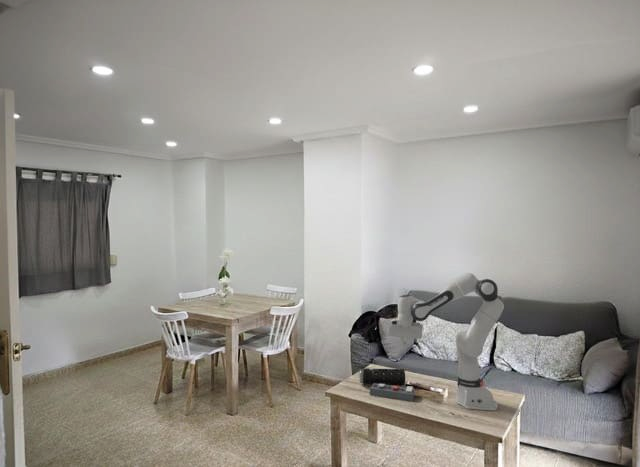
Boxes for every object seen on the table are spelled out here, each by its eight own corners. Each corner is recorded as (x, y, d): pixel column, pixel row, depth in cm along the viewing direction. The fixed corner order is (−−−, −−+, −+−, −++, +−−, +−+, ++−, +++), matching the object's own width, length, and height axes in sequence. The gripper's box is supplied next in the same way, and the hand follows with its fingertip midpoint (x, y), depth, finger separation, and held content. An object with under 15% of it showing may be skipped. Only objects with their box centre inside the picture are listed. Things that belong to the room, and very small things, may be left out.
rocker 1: (385, 385, 249) (385, 384, 250) (383, 387, 245) (383, 385, 245) (379, 384, 251) (379, 383, 251) (377, 386, 246) (377, 384, 246)
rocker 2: (412, 388, 243) (412, 386, 243) (411, 392, 239) (411, 391, 239) (407, 387, 245) (407, 385, 244) (405, 391, 240) (405, 390, 240)
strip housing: (414, 395, 245) (414, 388, 245) (412, 401, 237) (412, 394, 237) (373, 389, 254) (373, 382, 254) (369, 394, 246) (369, 388, 246)
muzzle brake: (405, 388, 257) (405, 371, 257) (360, 387, 258) (360, 371, 257) (402, 382, 266) (402, 366, 266) (359, 382, 267) (359, 366, 267)
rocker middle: (398, 387, 246) (398, 386, 246) (397, 389, 242) (397, 387, 242) (393, 386, 248) (393, 385, 248) (391, 388, 243) (391, 386, 243)
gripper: (423, 321, 248) (423, 344, 248) (389, 319, 256) (389, 341, 256) (422, 324, 242) (422, 347, 242) (387, 321, 250) (387, 344, 250)
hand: (405, 344), depth 249 cm, fingers closed
